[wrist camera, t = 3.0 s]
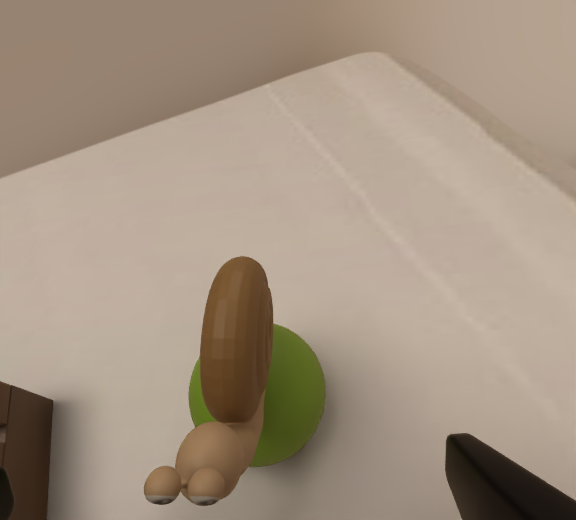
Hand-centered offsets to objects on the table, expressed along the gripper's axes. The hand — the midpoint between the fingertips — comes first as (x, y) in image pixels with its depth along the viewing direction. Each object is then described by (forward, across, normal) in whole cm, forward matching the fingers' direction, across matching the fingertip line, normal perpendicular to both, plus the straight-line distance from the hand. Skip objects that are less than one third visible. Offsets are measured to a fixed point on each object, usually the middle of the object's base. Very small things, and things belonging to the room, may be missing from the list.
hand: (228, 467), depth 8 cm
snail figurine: (+9, 0, +5) cm, 10 cm away
